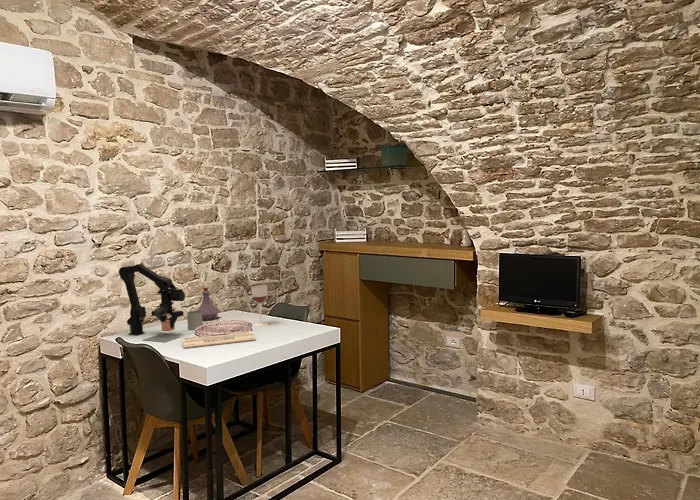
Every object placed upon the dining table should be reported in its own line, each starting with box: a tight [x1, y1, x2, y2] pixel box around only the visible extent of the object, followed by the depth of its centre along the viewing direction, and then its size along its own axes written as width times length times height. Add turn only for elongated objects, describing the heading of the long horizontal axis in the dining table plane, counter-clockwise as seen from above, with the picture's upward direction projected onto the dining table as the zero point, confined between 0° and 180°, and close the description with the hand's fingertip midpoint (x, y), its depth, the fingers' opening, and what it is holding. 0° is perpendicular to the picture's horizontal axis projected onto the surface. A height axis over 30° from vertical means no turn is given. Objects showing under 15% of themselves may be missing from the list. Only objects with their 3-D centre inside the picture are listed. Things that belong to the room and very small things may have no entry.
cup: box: [186, 310, 204, 331], centre depth 326 cm, size 8×8×10 cm
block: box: [160, 319, 176, 332], centre depth 314 cm, size 5×5×5 cm
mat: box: [142, 334, 180, 343], centre depth 305 cm, size 16×12×1 cm
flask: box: [196, 287, 221, 321], centre depth 352 cm, size 16×16×20 cm
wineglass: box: [250, 284, 269, 327], centre depth 331 cm, size 9×10×23 cm
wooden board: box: [181, 330, 257, 349], centre depth 295 cm, size 37×19×3 cm, turn 109°
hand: (168, 328), depth 314 cm, fingers closed on block, 5 cm apart
